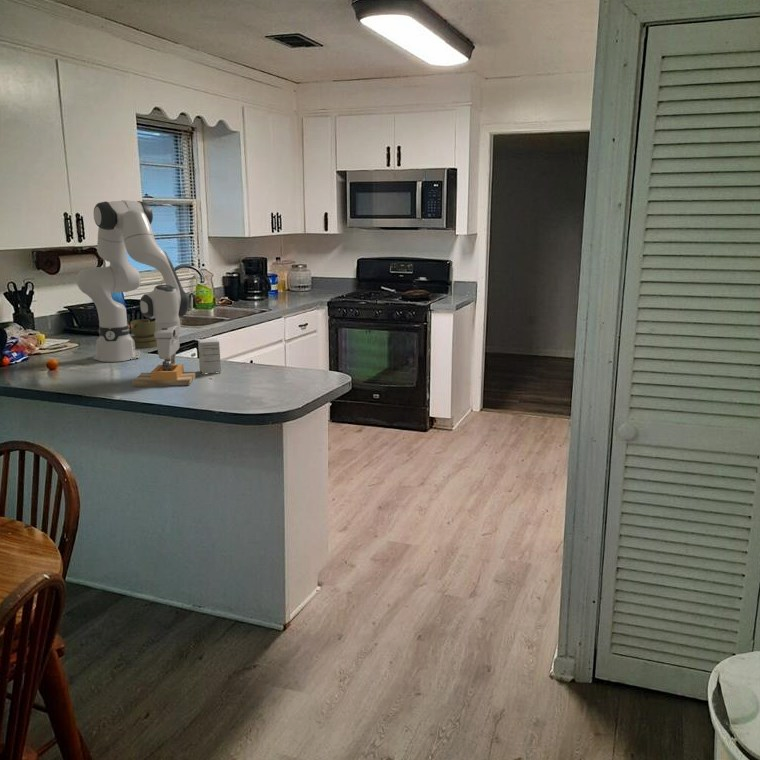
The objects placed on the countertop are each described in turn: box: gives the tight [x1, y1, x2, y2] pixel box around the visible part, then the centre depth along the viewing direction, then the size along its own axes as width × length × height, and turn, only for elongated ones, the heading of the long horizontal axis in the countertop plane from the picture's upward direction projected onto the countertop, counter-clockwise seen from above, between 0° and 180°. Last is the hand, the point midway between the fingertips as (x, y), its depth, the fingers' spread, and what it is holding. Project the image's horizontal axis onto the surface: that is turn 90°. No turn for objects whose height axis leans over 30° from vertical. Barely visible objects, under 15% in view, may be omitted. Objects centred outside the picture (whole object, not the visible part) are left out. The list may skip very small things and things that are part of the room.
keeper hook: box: [161, 360, 172, 371], centre depth 259 cm, size 4×3×6 cm, turn 4°
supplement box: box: [197, 338, 222, 375], centre depth 275 cm, size 7×7×13 cm
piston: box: [130, 318, 157, 350], centre depth 330 cm, size 11×12×11 cm
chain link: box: [150, 363, 185, 380], centre depth 260 cm, size 13×9×3 cm
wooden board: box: [131, 371, 197, 387], centre depth 261 cm, size 14×20×2 cm
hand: (170, 366), depth 266 cm, fingers open, 5 cm apart
